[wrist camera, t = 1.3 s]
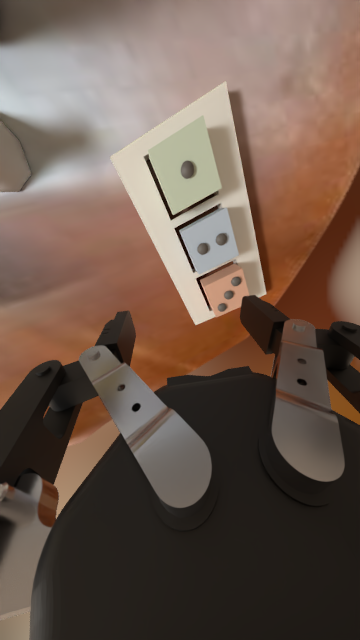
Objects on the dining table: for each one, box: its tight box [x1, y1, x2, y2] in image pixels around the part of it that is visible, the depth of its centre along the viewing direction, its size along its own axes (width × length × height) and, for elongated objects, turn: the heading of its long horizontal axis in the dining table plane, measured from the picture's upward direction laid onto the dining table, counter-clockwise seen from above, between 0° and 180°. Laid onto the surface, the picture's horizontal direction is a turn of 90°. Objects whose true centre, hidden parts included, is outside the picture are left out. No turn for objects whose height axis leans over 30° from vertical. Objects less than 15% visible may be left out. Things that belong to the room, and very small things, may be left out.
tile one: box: [148, 115, 222, 215], centre depth 19 cm, size 6×6×3 cm
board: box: [110, 81, 266, 325], centre depth 25 cm, size 14×26×2 cm, turn 25°
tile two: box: [179, 207, 239, 274], centre depth 23 cm, size 6×6×3 cm
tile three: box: [200, 264, 249, 317], centre depth 27 cm, size 6×6×3 cm
